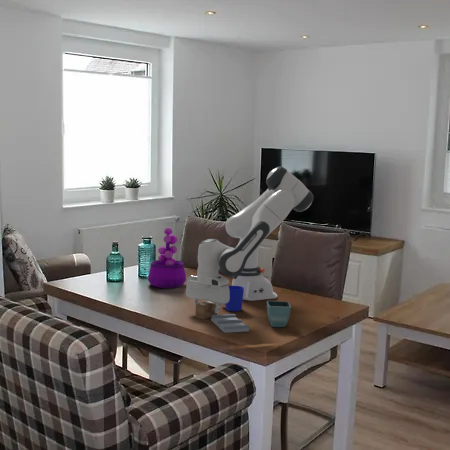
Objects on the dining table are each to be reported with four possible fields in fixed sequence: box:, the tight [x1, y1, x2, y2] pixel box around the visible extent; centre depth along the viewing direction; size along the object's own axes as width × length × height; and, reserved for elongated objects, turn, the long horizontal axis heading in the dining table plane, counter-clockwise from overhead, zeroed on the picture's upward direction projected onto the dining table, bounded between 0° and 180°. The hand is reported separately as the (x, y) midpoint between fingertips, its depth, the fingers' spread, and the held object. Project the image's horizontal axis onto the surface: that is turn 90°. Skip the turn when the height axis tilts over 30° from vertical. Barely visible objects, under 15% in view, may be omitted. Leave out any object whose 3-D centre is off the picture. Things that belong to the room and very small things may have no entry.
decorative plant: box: [147, 227, 187, 290], centre depth 305 cm, size 19×18×30 cm
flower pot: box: [266, 300, 292, 328], centre depth 247 cm, size 9×9×9 cm
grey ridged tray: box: [210, 313, 250, 334], centre depth 245 cm, size 10×17×2 cm, turn 18°
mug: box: [223, 285, 244, 312], centre depth 269 cm, size 8×12×10 cm
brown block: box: [195, 301, 219, 320], centre depth 258 cm, size 9×4×6 cm, turn 143°
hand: (206, 310), depth 258 cm, fingers open, 8 cm apart
